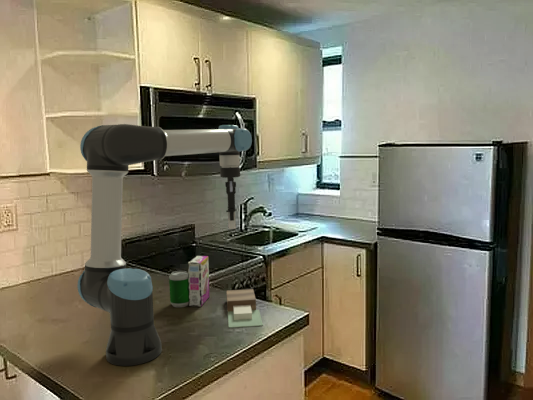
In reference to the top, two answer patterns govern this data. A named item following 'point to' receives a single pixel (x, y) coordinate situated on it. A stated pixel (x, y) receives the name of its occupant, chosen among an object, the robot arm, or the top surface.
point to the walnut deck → (240, 298)
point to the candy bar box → (198, 280)
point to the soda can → (179, 288)
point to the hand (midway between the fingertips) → (232, 228)
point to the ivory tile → (242, 312)
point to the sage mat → (245, 320)
